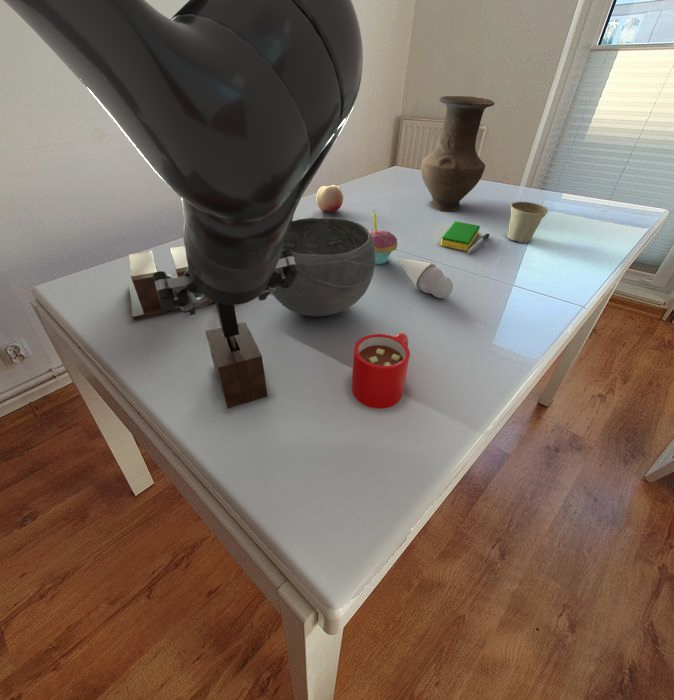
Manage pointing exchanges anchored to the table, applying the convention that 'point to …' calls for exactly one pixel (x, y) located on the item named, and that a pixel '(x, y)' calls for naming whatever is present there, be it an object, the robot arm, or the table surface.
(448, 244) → the dish sponge
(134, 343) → the table surface
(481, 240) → the knife
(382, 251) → the cupcake
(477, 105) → the vase
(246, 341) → the knife block
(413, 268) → the ice cream cone
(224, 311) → the black block with pin
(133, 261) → the slotted block
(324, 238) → the bowl
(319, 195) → the fruit
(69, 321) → the table surface
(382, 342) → the mug
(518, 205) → the flower pot
